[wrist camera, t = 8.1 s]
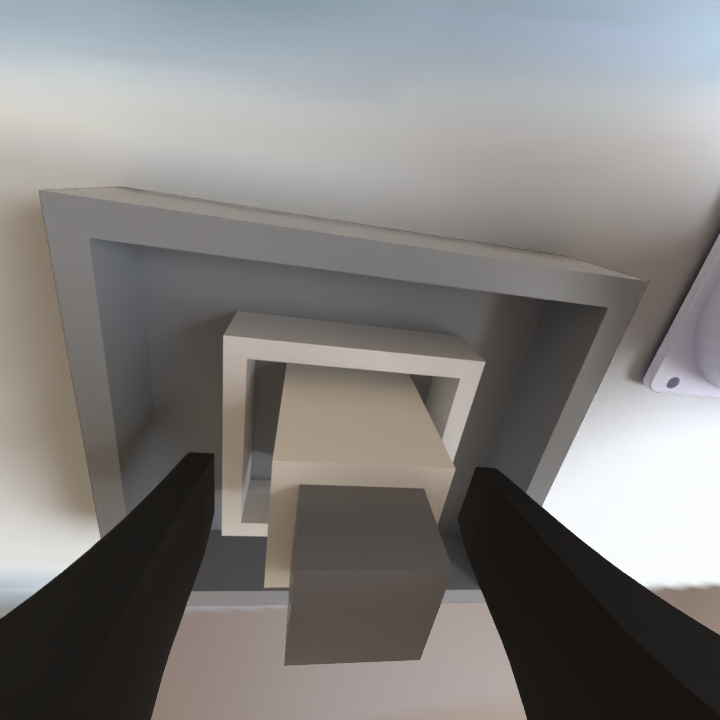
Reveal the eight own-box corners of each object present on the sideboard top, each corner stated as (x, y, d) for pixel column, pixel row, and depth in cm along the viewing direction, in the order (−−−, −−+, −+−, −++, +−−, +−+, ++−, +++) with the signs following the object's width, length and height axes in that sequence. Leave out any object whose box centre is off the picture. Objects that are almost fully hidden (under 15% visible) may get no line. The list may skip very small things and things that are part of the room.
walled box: (567, 256, 13) (648, 281, 10) (464, 529, 18) (495, 602, 15) (120, 186, 11) (38, 189, 7) (152, 522, 16) (113, 607, 13)
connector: (406, 368, 13) (493, 546, 7) (385, 460, 15) (440, 674, 8) (287, 357, 12) (260, 545, 6) (280, 456, 14) (252, 683, 8)
